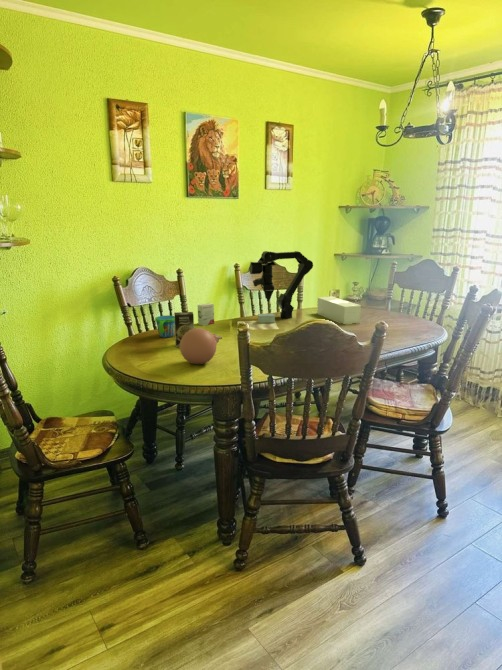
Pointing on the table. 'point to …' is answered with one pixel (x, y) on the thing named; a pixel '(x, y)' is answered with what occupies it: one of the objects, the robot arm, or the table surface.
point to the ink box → (205, 314)
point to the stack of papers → (339, 310)
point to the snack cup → (165, 325)
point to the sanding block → (266, 318)
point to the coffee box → (182, 325)
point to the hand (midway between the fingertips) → (267, 300)
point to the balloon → (198, 345)
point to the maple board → (259, 325)
